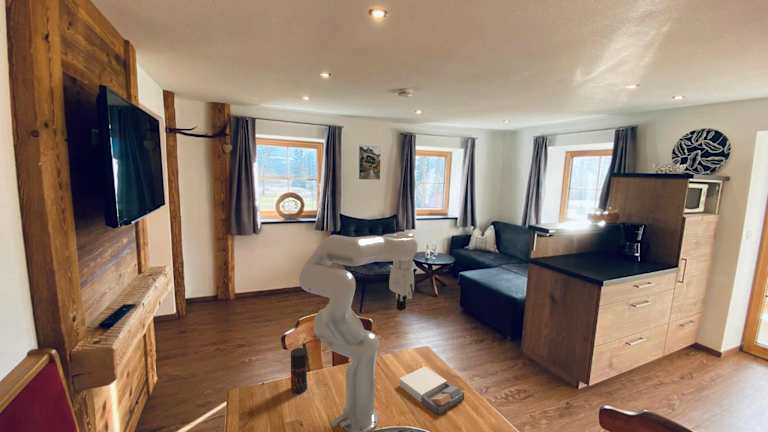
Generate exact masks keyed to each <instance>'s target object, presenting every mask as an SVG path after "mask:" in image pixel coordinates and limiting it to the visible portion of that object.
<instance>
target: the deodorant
mask: <svg viewBox="0 0 768 432" xmlns="http://www.w3.org/2000/svg"><path fill="white" fill-rule="evenodd" d="M290 390H291V391H290V392H291V393H292V394H294V395H300V394H303V393H305V392H306V391H307V390H308V350H307V349H306V348H305V347H295V348H293V349H292V350H291V351H290Z"/></svg>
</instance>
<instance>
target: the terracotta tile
mask: <svg viewBox="0 0 768 432" xmlns="http://www.w3.org/2000/svg"><path fill="white" fill-rule="evenodd" d="M450 400H451V397H450V394H439V395H437V396H435V397H434V398H432V399H431V401H432V402H433V403H435V404H436V405H444V404H445V403H447V402H449V401H450Z"/></svg>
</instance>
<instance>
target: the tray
mask: <svg viewBox="0 0 768 432" xmlns="http://www.w3.org/2000/svg"><path fill="white" fill-rule="evenodd" d="M449 386H452V387H455V386H454V385H453V384H451V383H449V382H448V381H447V383H446V388H448V387H449ZM446 388H444V389H446ZM444 389H443V390H444ZM441 391H442V390H441ZM441 391H439V392H437V393H436V394H434V395H432V396H430V397H429V398H427V397H425V396H422V402H421V404H422V405H424V406H425V407H426V408H428V409H429V410H430V411H432V412H433V413H434V414H435V415H437V416H440V415H441V414H443V413H445V412H446V411H448V410H449V409H451V408H453V407H454V406H456V405H458V404H459V403H461V402H462V401H464V400H465V392H463V391H462V390H460V391H461V393H460V394H459V395H457V396H456V397H454V398H451V400H450V401H449V402H447V403H445V404H444V405H436V404H435V403H433V402H432V401H431V399H432V398H434V397H435V396H437V395H439V394H441Z"/></svg>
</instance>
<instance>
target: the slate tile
mask: <svg viewBox="0 0 768 432" xmlns="http://www.w3.org/2000/svg"><path fill="white" fill-rule="evenodd" d="M452 386H453V385H452ZM452 386H449V387H448V388H446V389H444V390H442V391H441V394H450V397H451V398H454V397H456V396H457V395H459V394H460V393H461V391H462V390H461V388H460V387H458V386H454V387H452Z"/></svg>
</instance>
